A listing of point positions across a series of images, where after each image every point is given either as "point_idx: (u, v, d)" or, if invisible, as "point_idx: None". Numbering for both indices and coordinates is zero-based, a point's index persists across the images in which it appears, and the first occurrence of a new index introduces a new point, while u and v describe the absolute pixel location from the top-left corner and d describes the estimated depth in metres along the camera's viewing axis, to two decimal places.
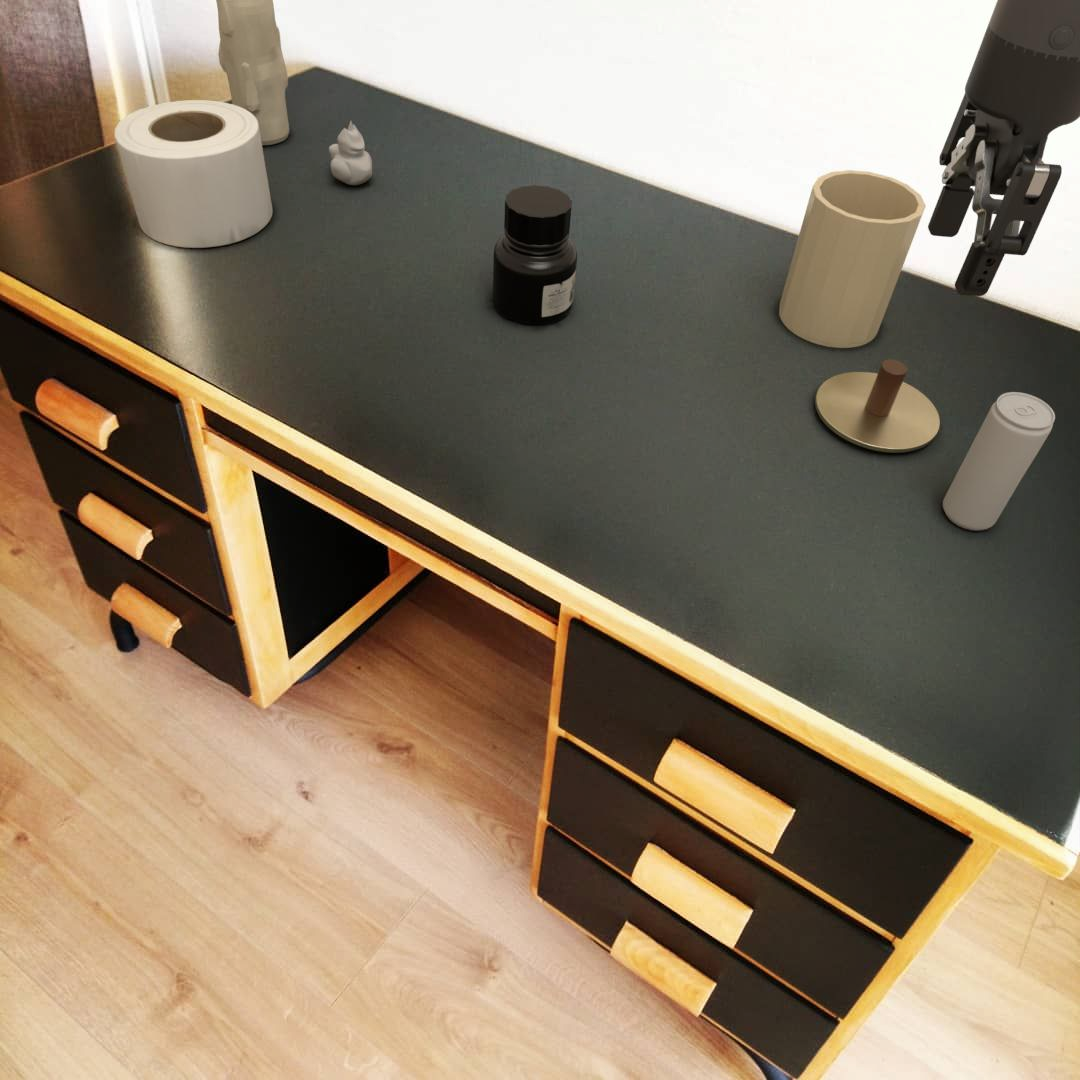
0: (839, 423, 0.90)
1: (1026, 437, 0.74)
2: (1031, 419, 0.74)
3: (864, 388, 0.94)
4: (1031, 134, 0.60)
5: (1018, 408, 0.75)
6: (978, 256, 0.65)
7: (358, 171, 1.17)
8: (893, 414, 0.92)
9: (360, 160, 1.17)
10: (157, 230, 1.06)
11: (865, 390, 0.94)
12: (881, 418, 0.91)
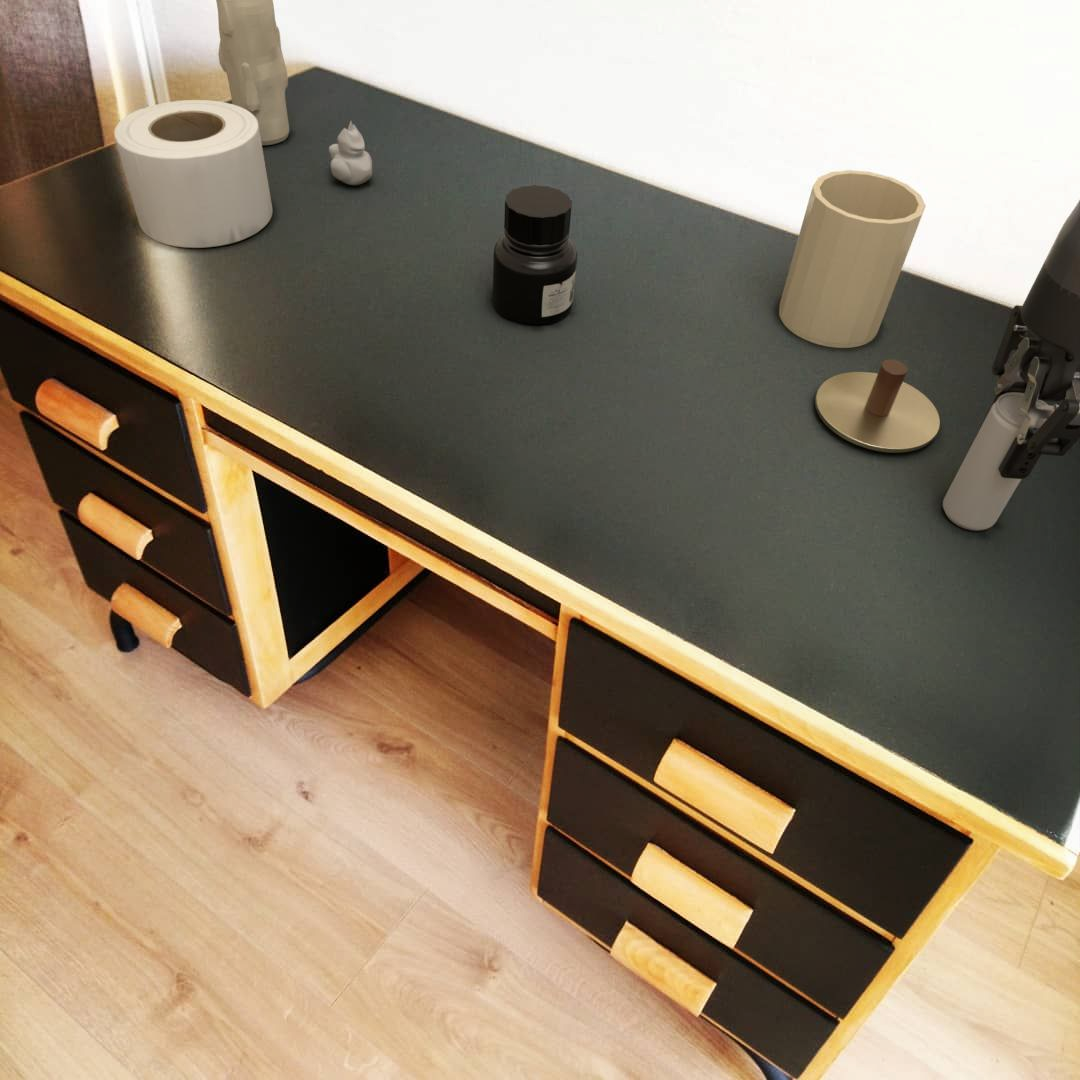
0: (839, 423, 0.90)
1: None
2: None
3: (864, 388, 0.94)
4: None
5: (1019, 408, 0.75)
6: (1021, 450, 0.74)
7: (358, 171, 1.17)
8: (893, 414, 0.92)
9: (360, 160, 1.17)
10: (157, 230, 1.06)
11: (865, 390, 0.94)
12: (881, 418, 0.91)
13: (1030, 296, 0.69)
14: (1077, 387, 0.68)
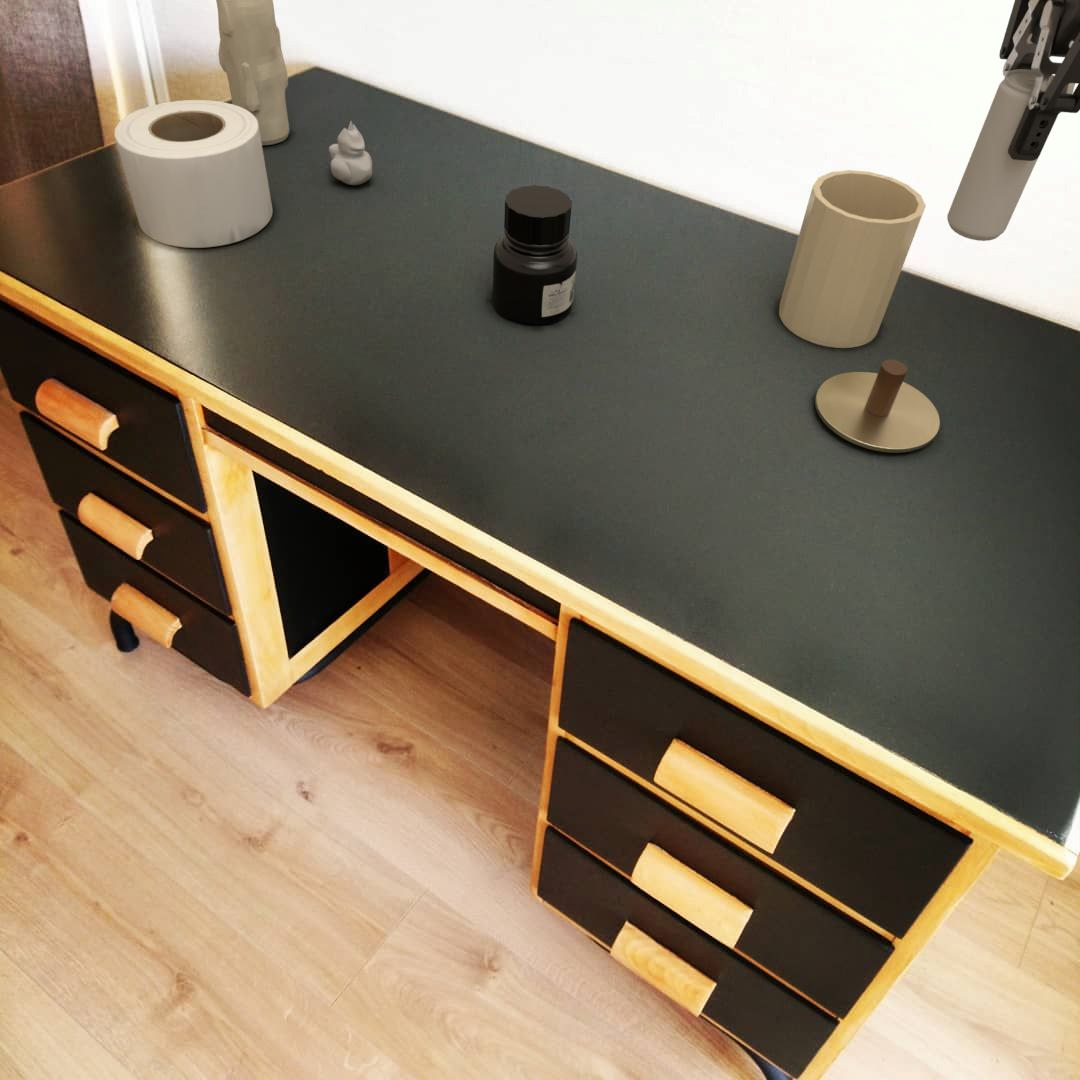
0: (839, 423, 0.90)
1: None
2: None
3: (864, 388, 0.94)
4: None
5: (1029, 80, 0.70)
6: (1032, 118, 0.69)
7: (358, 171, 1.17)
8: (893, 414, 0.92)
9: (360, 160, 1.17)
10: (157, 230, 1.06)
11: (865, 390, 0.94)
12: (881, 418, 0.91)
13: None
14: None
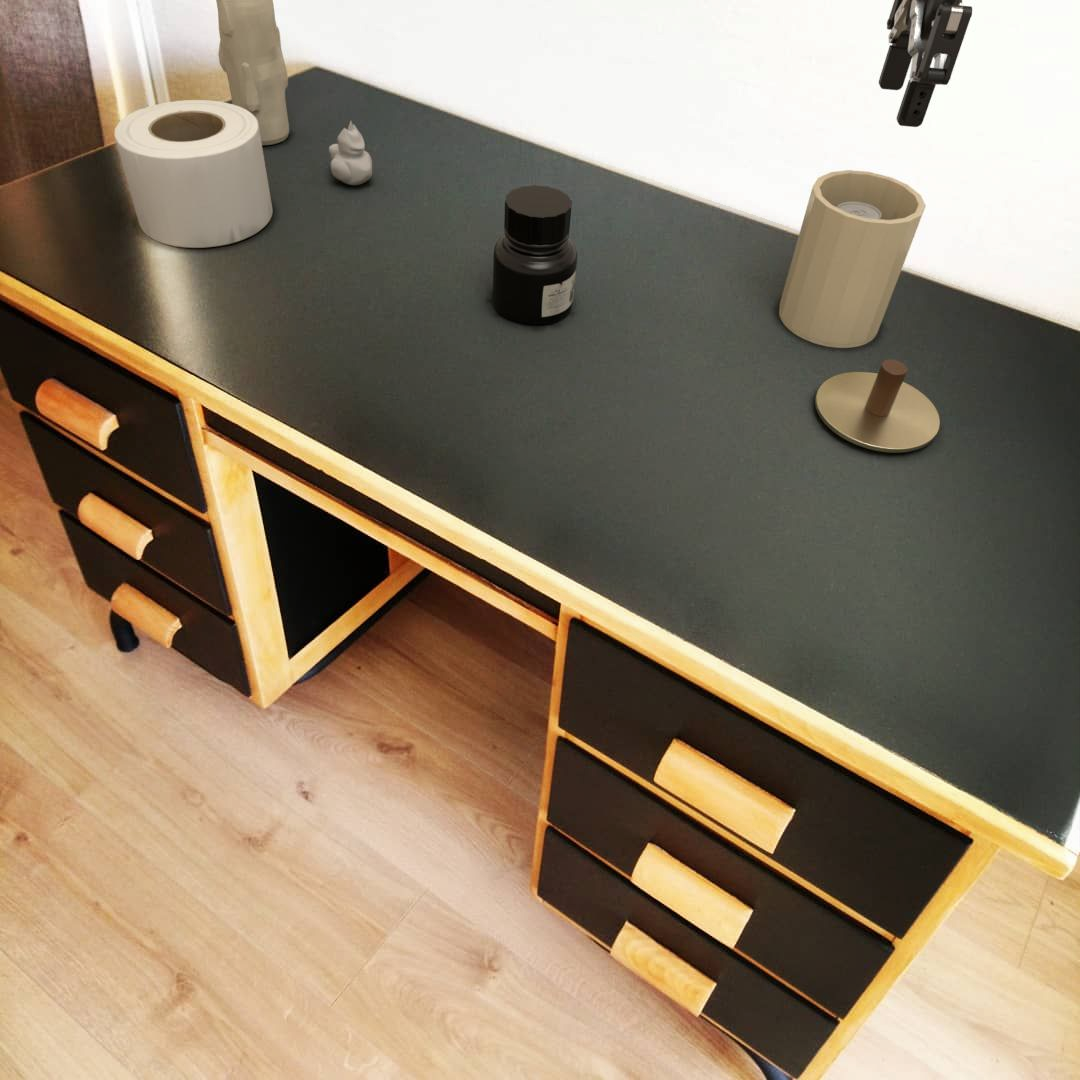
0: (839, 423, 0.90)
1: None
2: None
3: (864, 388, 0.94)
4: None
5: (853, 211, 0.96)
6: (913, 90, 0.82)
7: (358, 171, 1.17)
8: (893, 414, 0.92)
9: (360, 160, 1.17)
10: (157, 230, 1.06)
11: (865, 390, 0.94)
12: (881, 418, 0.91)
13: None
14: (948, 2, 0.77)
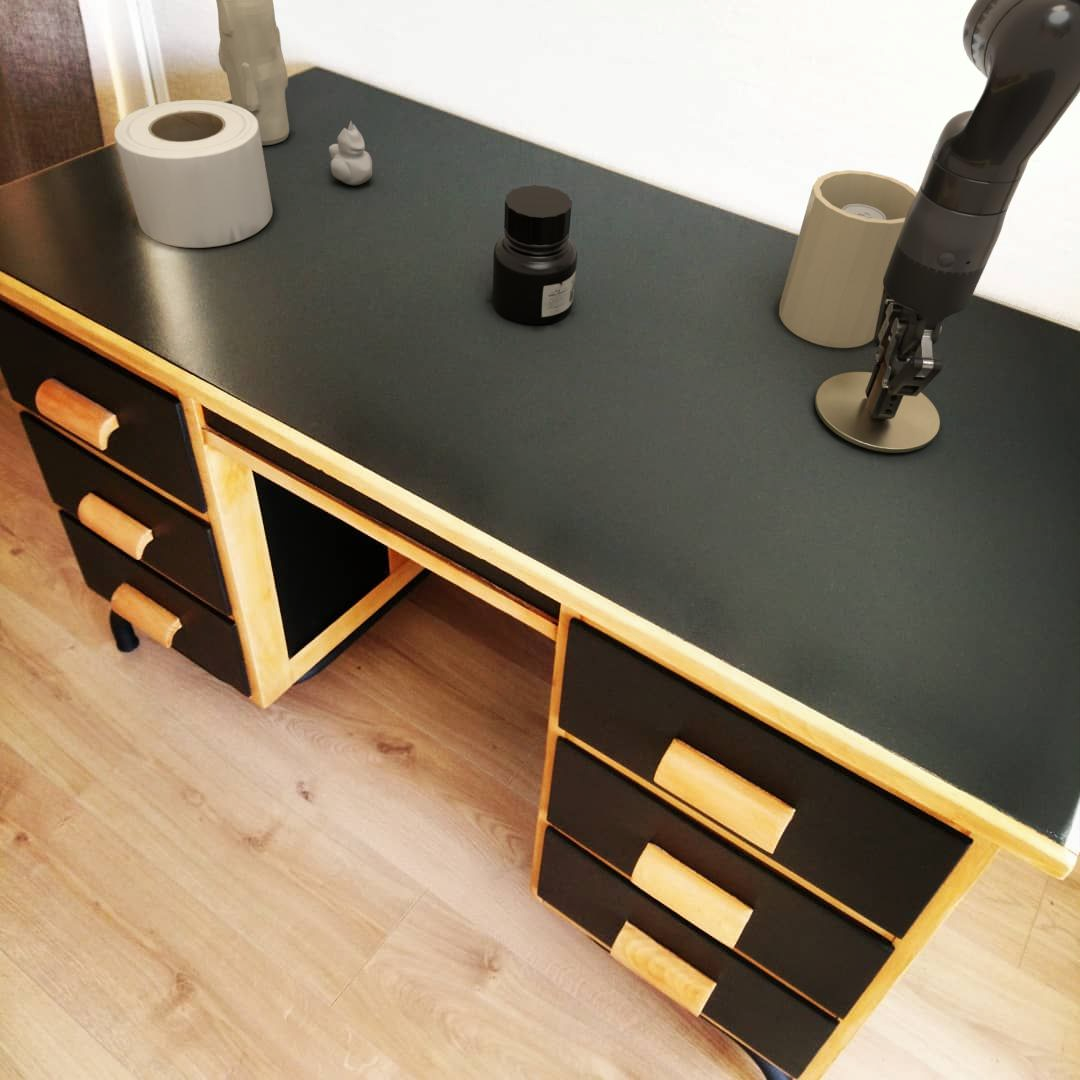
0: (839, 423, 0.90)
1: None
2: None
3: (864, 388, 0.94)
4: (930, 320, 0.80)
5: (858, 214, 0.96)
6: (886, 393, 0.88)
7: (358, 171, 1.17)
8: None
9: (360, 160, 1.17)
10: (157, 230, 1.06)
11: None
12: None
13: (888, 266, 0.82)
14: (924, 345, 0.81)
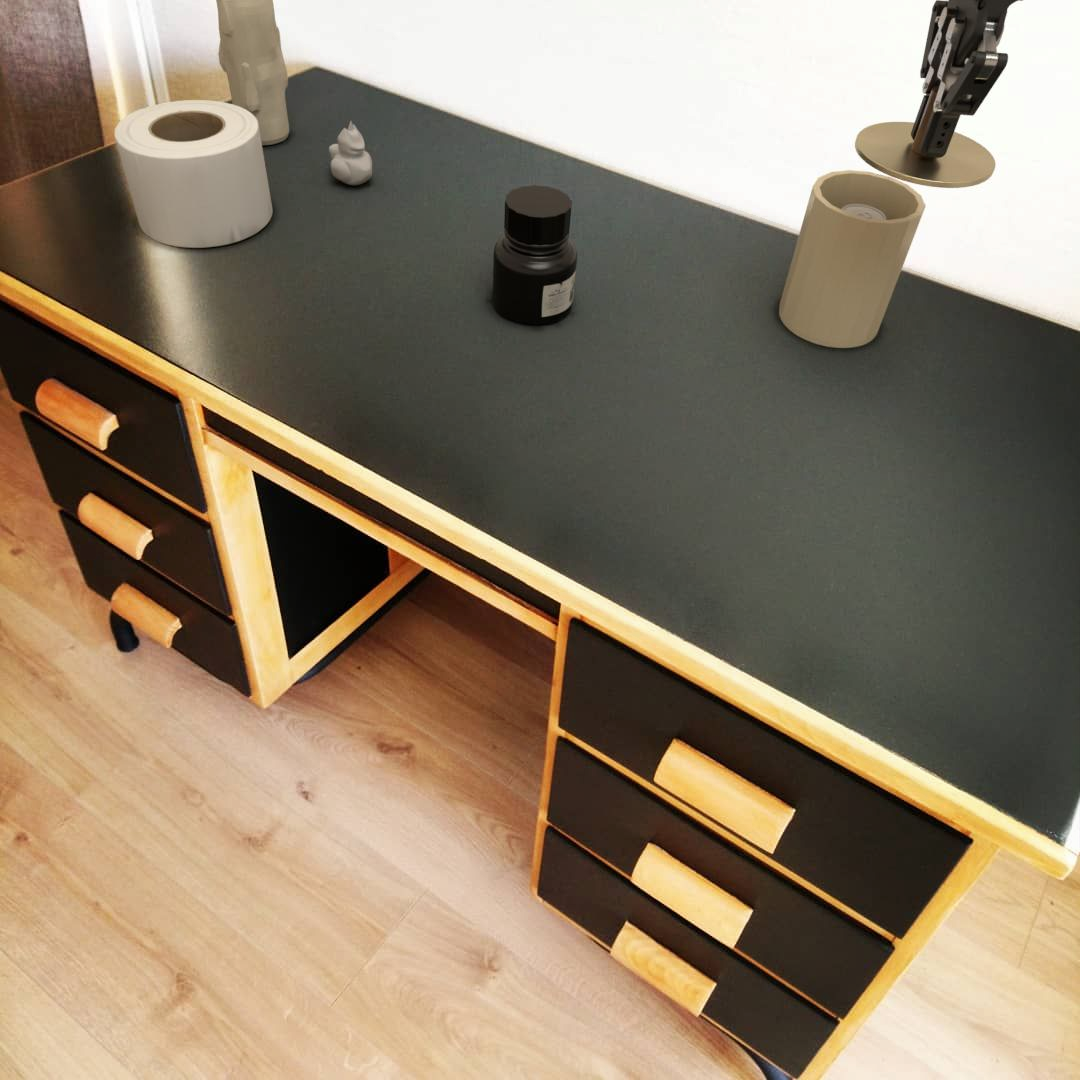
0: (884, 161, 0.80)
1: None
2: None
3: (908, 134, 0.84)
4: (993, 8, 0.71)
5: (858, 214, 0.96)
6: (937, 120, 0.78)
7: (358, 171, 1.17)
8: None
9: (360, 160, 1.17)
10: (157, 230, 1.06)
11: (910, 136, 0.84)
12: (929, 158, 0.81)
13: None
14: (987, 39, 0.71)
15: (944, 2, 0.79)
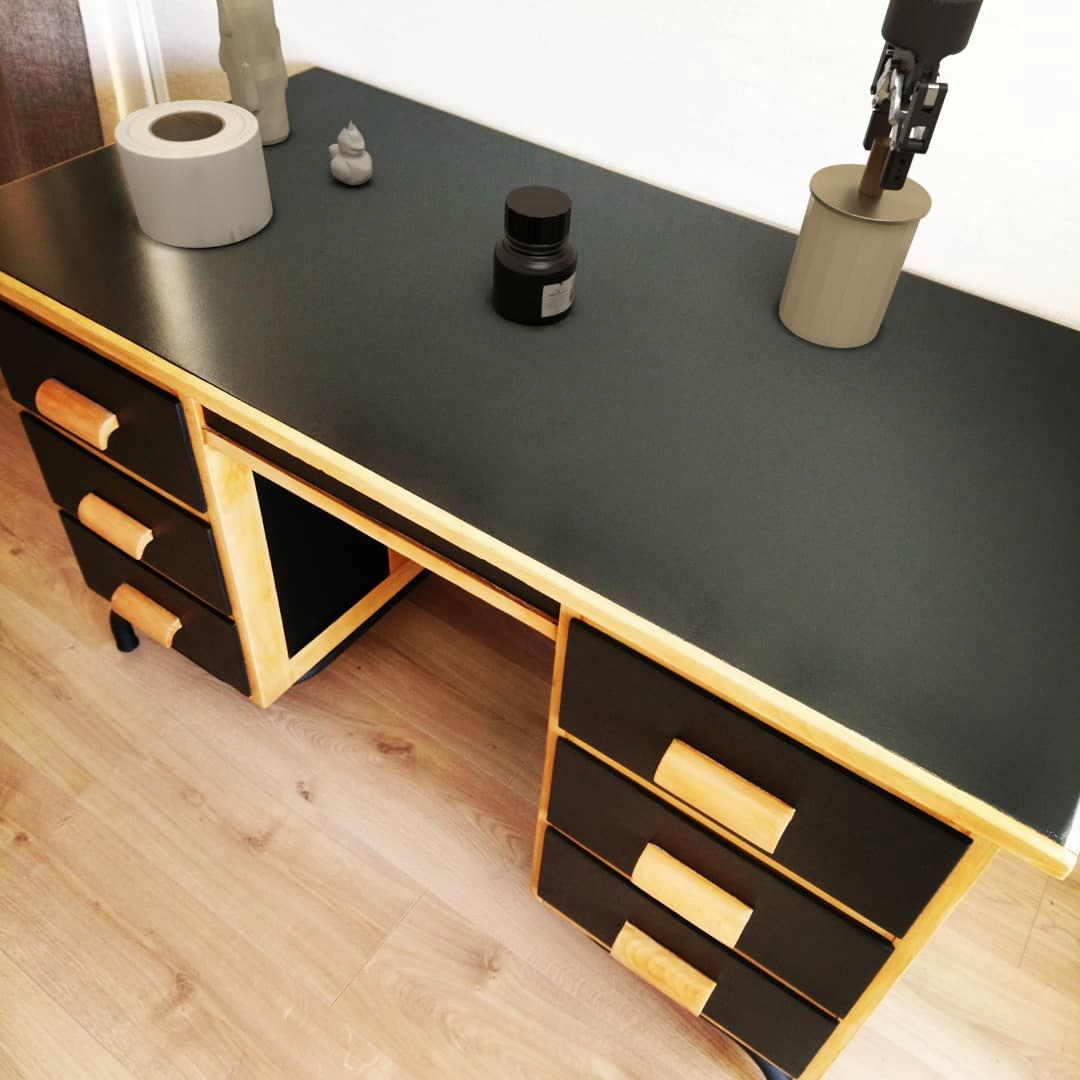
0: (832, 201, 0.92)
1: None
2: None
3: (857, 176, 0.96)
4: (927, 61, 0.81)
5: None
6: (894, 157, 0.86)
7: (358, 171, 1.17)
8: (886, 195, 0.93)
9: (360, 160, 1.17)
10: (157, 230, 1.06)
11: (858, 177, 0.95)
12: (873, 198, 0.93)
13: (886, 12, 0.82)
14: (926, 78, 0.81)
15: None
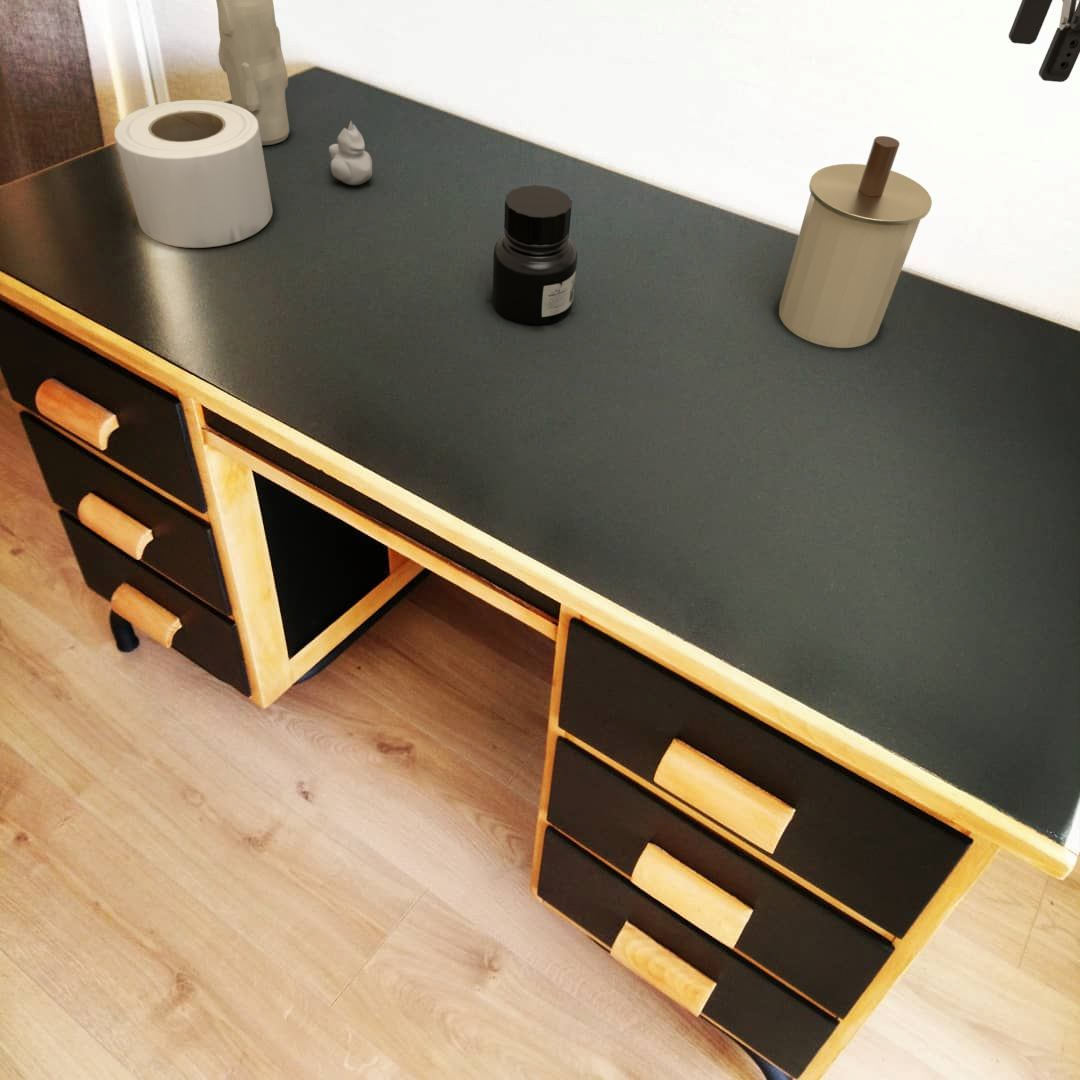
0: (832, 201, 0.92)
1: None
2: None
3: (857, 176, 0.96)
4: None
5: None
6: (1063, 38, 0.73)
7: (358, 171, 1.17)
8: (886, 195, 0.93)
9: (360, 160, 1.17)
10: (157, 230, 1.06)
11: (858, 177, 0.95)
12: (873, 198, 0.93)
13: None
14: None
15: None
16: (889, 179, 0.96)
